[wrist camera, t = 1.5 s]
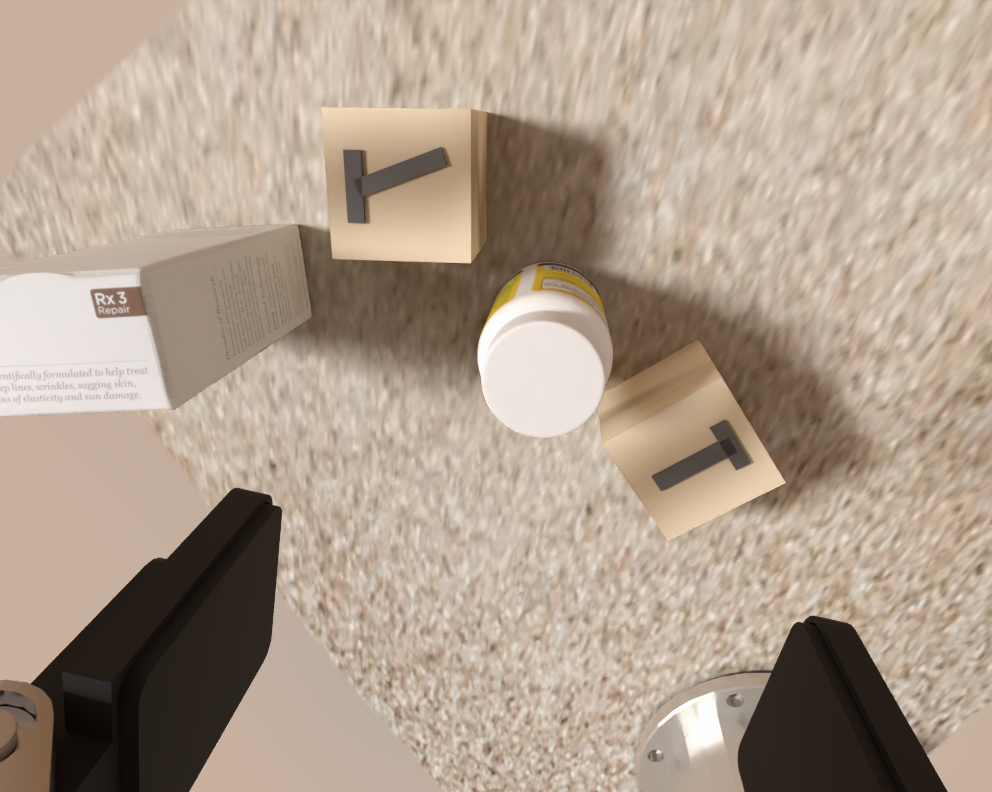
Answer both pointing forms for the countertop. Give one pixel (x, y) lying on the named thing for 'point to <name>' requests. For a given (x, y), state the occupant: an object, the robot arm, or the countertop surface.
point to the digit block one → (684, 442)
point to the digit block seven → (406, 183)
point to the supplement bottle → (545, 351)
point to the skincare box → (145, 318)
